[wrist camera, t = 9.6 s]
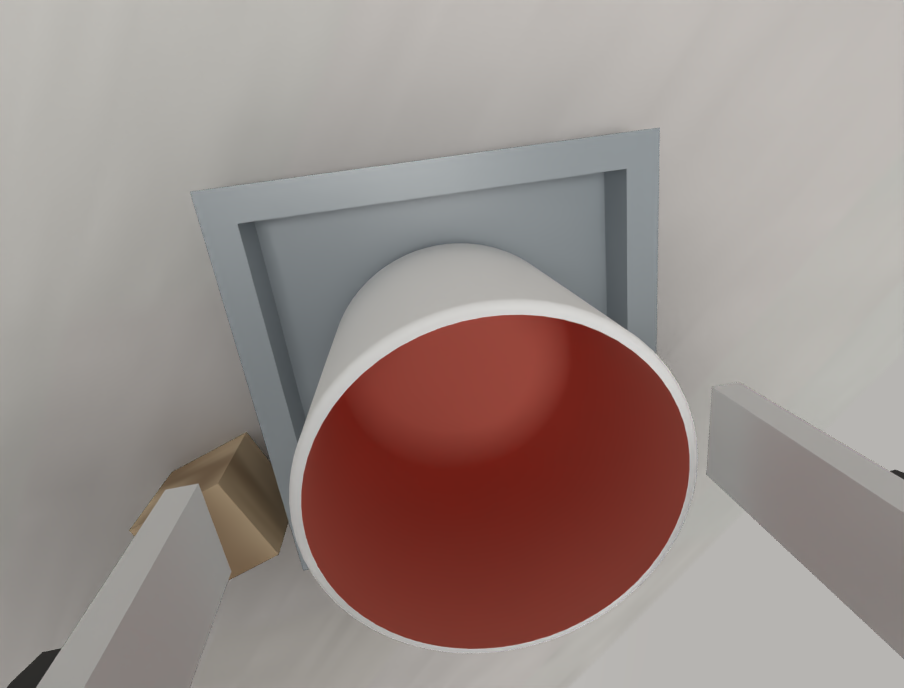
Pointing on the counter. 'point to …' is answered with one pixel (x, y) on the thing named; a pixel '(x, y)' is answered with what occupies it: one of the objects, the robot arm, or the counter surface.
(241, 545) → the oak block
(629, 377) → the cup
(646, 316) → the tray
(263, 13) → the counter surface
